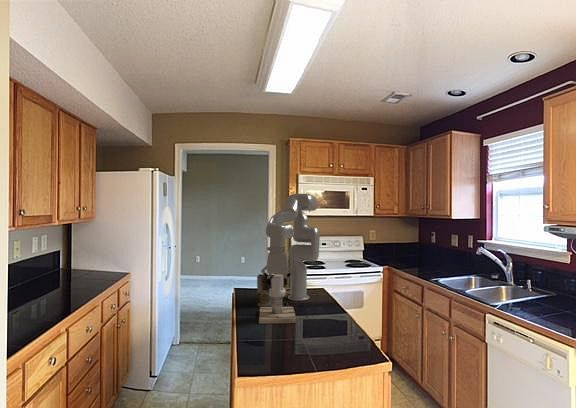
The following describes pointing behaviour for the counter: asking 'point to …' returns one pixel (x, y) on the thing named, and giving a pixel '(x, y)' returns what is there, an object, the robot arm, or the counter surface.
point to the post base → (272, 317)
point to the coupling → (277, 287)
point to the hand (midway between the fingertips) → (277, 286)
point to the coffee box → (263, 291)
